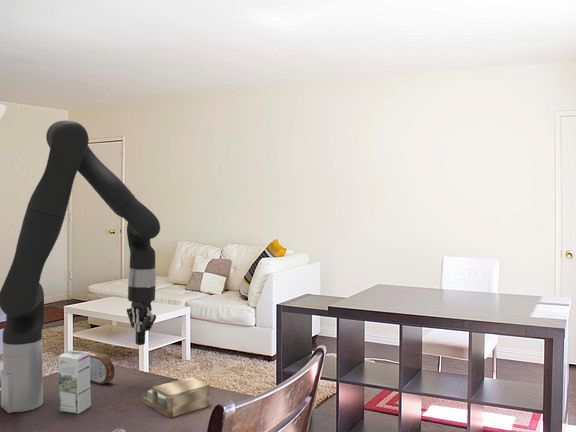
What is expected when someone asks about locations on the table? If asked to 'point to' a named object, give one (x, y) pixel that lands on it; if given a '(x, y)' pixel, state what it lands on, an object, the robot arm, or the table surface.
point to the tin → (100, 368)
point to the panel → (161, 398)
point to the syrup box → (74, 381)
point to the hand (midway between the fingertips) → (140, 344)
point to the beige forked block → (180, 397)
